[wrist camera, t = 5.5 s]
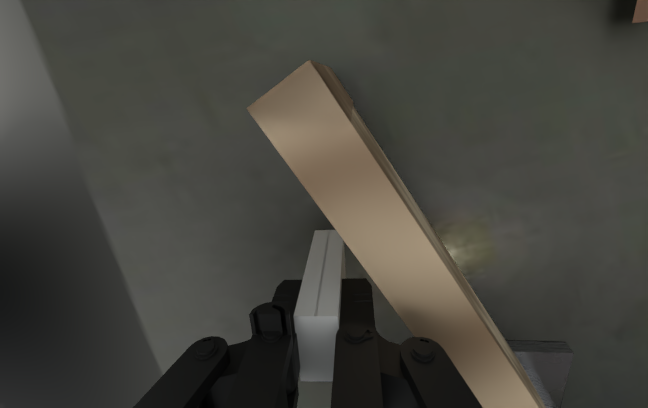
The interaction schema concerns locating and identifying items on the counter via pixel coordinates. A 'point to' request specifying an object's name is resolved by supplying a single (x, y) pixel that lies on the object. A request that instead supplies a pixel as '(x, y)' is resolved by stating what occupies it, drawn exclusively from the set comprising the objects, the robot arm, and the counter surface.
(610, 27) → the counter surface
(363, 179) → the gate
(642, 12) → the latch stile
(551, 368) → the hinge post
